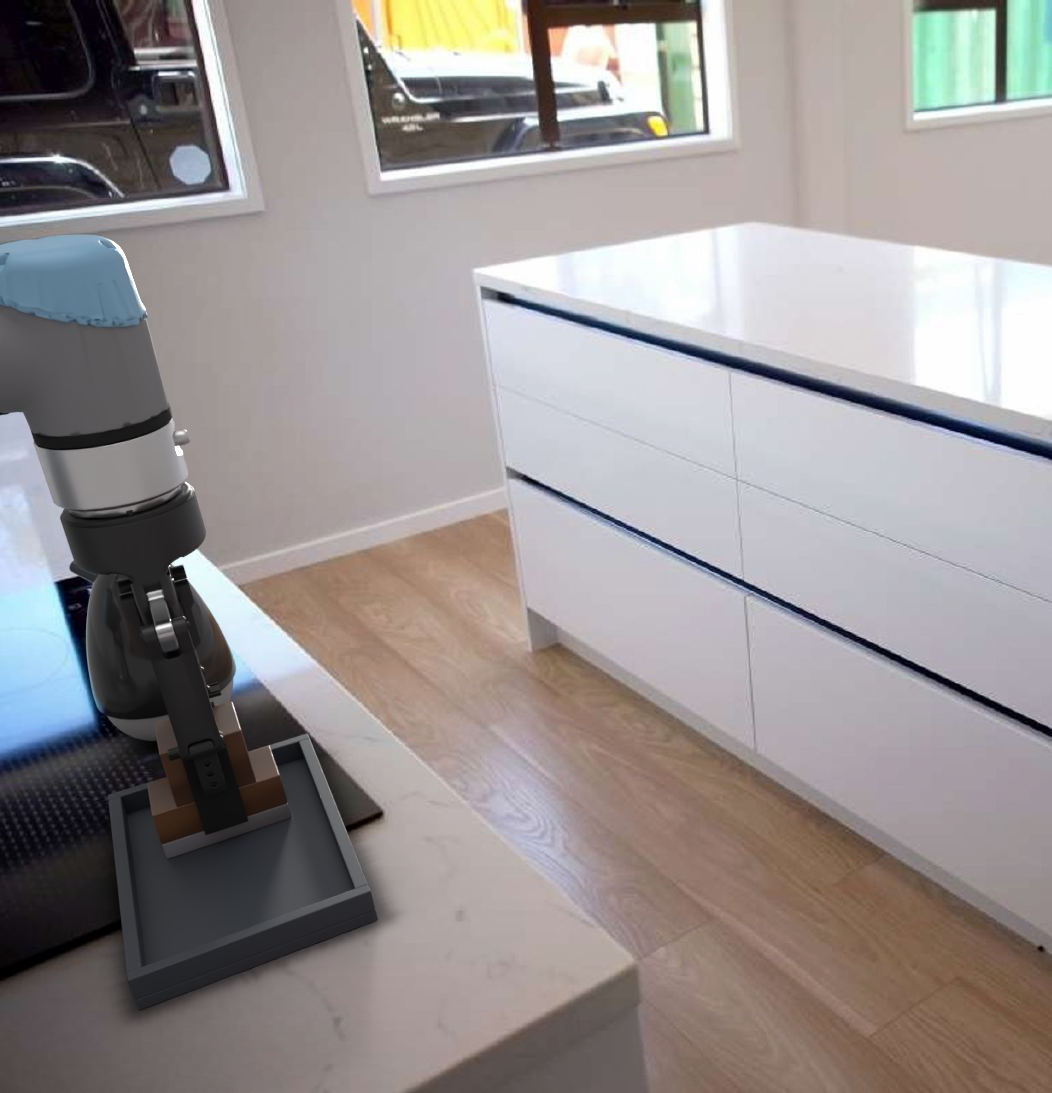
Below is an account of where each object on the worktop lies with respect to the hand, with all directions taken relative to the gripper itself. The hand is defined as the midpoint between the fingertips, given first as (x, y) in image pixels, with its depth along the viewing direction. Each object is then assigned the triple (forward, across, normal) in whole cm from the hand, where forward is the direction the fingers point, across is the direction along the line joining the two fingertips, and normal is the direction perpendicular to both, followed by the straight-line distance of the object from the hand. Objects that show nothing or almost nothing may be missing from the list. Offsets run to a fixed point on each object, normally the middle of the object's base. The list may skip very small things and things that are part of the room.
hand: (221, 805), depth 86 cm
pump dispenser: (+2, +18, +2) cm, 18 cm away
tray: (+2, -5, 0) cm, 5 cm away
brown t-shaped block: (+1, 0, 0) cm, 1 cm away
